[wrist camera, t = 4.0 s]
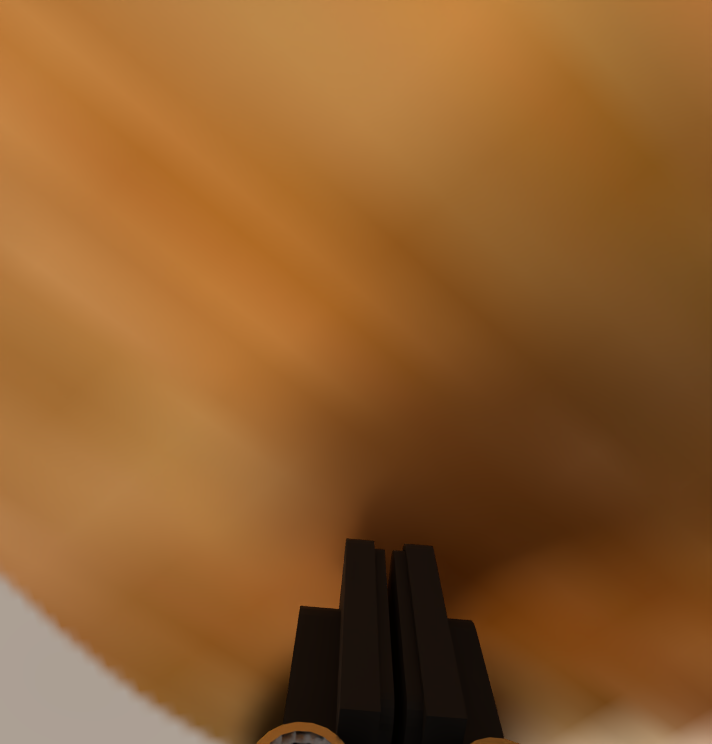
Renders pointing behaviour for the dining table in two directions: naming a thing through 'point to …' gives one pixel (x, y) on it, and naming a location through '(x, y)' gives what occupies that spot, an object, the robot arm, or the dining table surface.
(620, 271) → the dining table surface
